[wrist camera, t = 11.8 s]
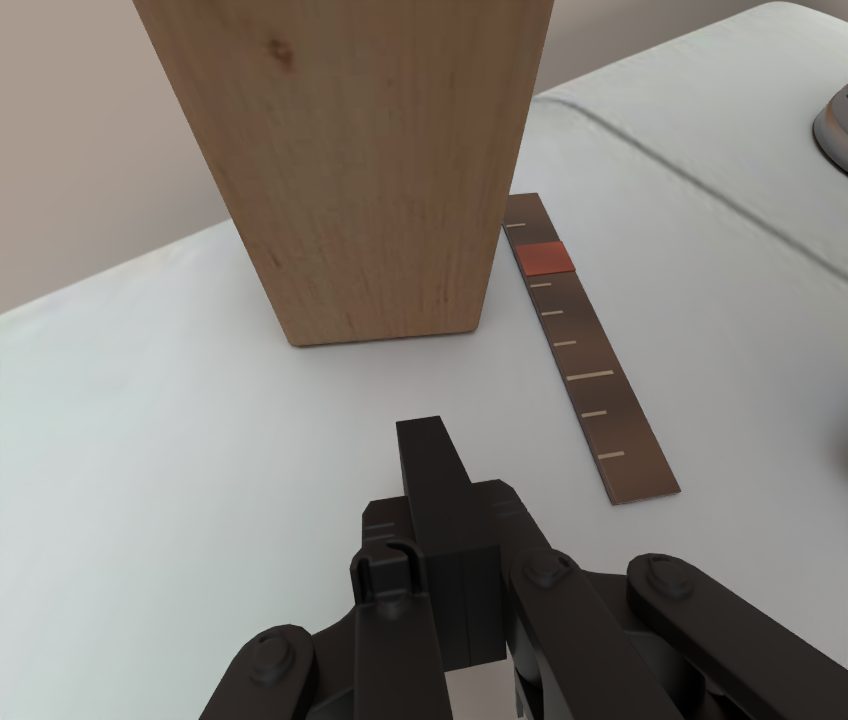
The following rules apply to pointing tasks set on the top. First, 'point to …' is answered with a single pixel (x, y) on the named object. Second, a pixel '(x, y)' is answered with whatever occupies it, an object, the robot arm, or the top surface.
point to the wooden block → (359, 147)
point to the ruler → (586, 360)
